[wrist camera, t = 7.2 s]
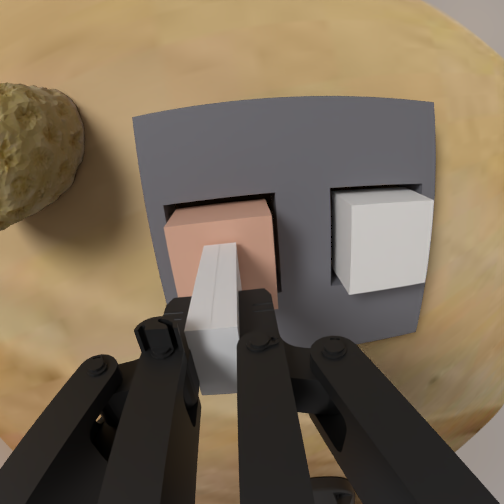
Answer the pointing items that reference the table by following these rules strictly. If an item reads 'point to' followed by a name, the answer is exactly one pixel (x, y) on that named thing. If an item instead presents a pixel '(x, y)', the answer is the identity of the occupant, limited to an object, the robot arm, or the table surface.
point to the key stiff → (223, 242)
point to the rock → (36, 149)
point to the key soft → (380, 238)
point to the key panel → (294, 192)
